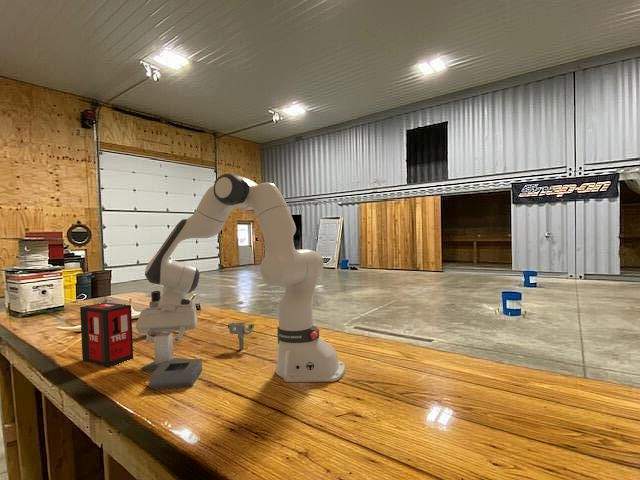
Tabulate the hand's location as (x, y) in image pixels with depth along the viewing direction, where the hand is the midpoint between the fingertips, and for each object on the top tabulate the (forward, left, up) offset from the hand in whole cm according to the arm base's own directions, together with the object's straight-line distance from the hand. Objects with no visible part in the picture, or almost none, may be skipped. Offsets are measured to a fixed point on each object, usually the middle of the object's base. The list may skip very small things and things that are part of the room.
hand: (162, 341), depth 115 cm
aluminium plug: (0, -1, -8) cm, 8 cm away
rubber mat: (0, -1, -9) cm, 9 cm away
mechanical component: (-19, -21, -9) cm, 29 cm away
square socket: (-12, +8, -9) cm, 17 cm away
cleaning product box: (+26, -3, -9) cm, 28 cm away
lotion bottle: (+31, -35, -9) cm, 47 cm away
